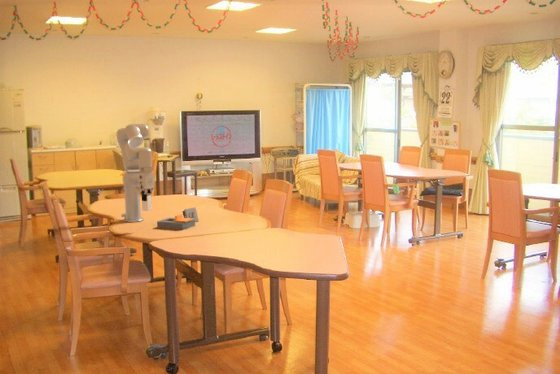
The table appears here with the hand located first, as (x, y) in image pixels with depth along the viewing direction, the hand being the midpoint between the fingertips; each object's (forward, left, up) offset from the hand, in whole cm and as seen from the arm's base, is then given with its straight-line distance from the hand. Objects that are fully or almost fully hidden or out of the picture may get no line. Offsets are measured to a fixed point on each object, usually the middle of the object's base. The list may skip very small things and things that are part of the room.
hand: (146, 200), depth 360 cm
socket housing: (+10, +15, -18) cm, 25 cm away
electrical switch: (+10, +31, -18) cm, 37 cm away
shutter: (+16, +15, -14) cm, 26 cm away
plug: (0, 0, -6) cm, 6 cm away
